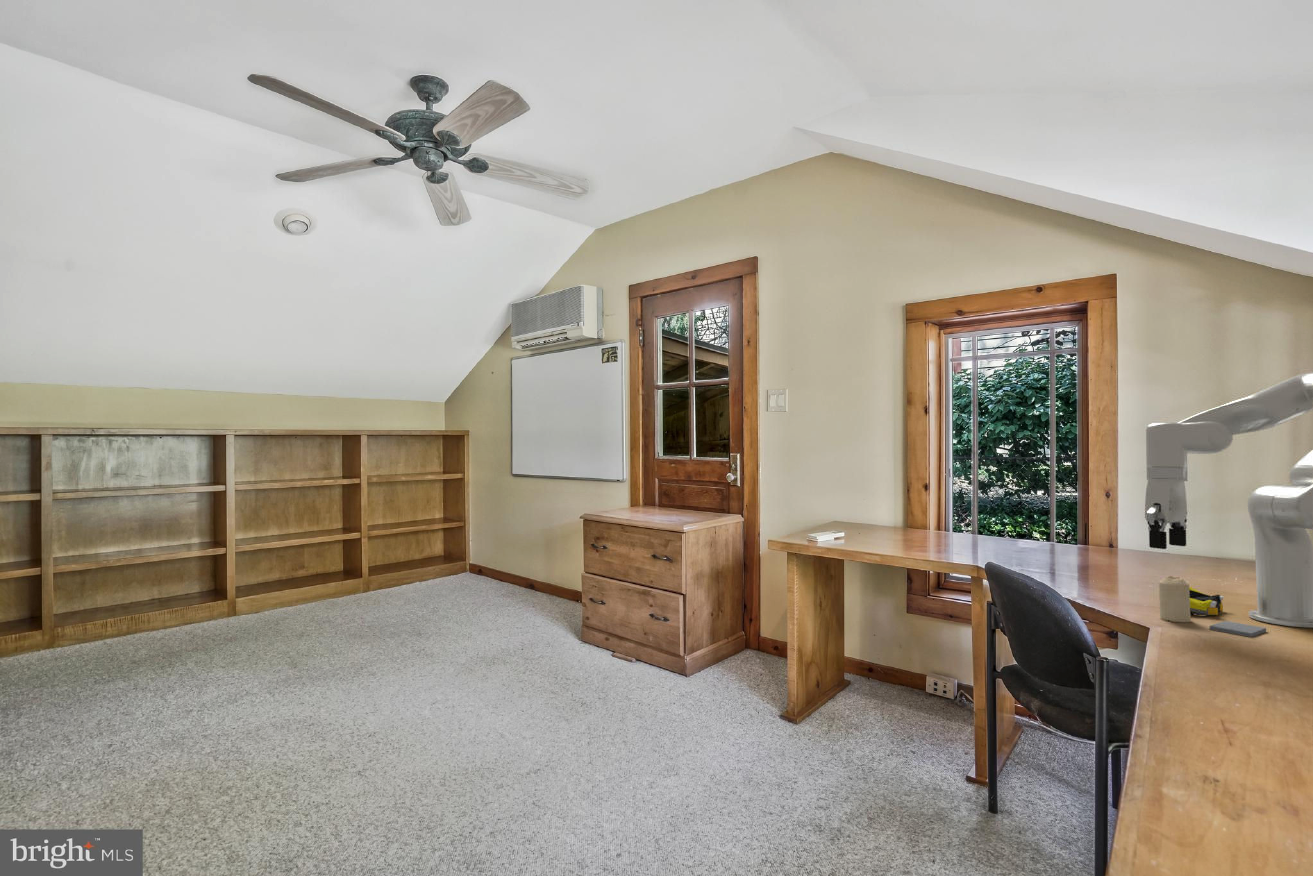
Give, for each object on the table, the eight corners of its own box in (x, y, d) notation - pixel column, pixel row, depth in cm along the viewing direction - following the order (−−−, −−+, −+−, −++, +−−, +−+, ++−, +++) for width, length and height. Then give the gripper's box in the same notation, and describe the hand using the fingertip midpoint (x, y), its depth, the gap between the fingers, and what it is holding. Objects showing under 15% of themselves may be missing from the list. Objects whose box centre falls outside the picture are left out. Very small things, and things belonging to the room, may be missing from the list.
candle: (1166, 621, 145) (1164, 578, 145) (1156, 616, 150) (1154, 574, 151) (1195, 623, 143) (1193, 579, 144) (1183, 617, 148) (1182, 575, 149)
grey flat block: (1225, 624, 142) (1225, 620, 142) (1266, 631, 136) (1266, 628, 136) (1209, 629, 138) (1209, 625, 138) (1251, 637, 132) (1251, 633, 132)
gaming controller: (1160, 612, 154) (1214, 620, 146) (1159, 590, 154) (1213, 597, 146) (1175, 603, 163) (1227, 610, 155) (1175, 582, 163) (1226, 588, 156)
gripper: (1165, 474, 155) (1166, 542, 155) (1130, 474, 147) (1131, 547, 146) (1202, 474, 149) (1204, 546, 148) (1168, 475, 140) (1169, 551, 140)
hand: (1167, 546), depth 147 cm, fingers open, 9 cm apart
